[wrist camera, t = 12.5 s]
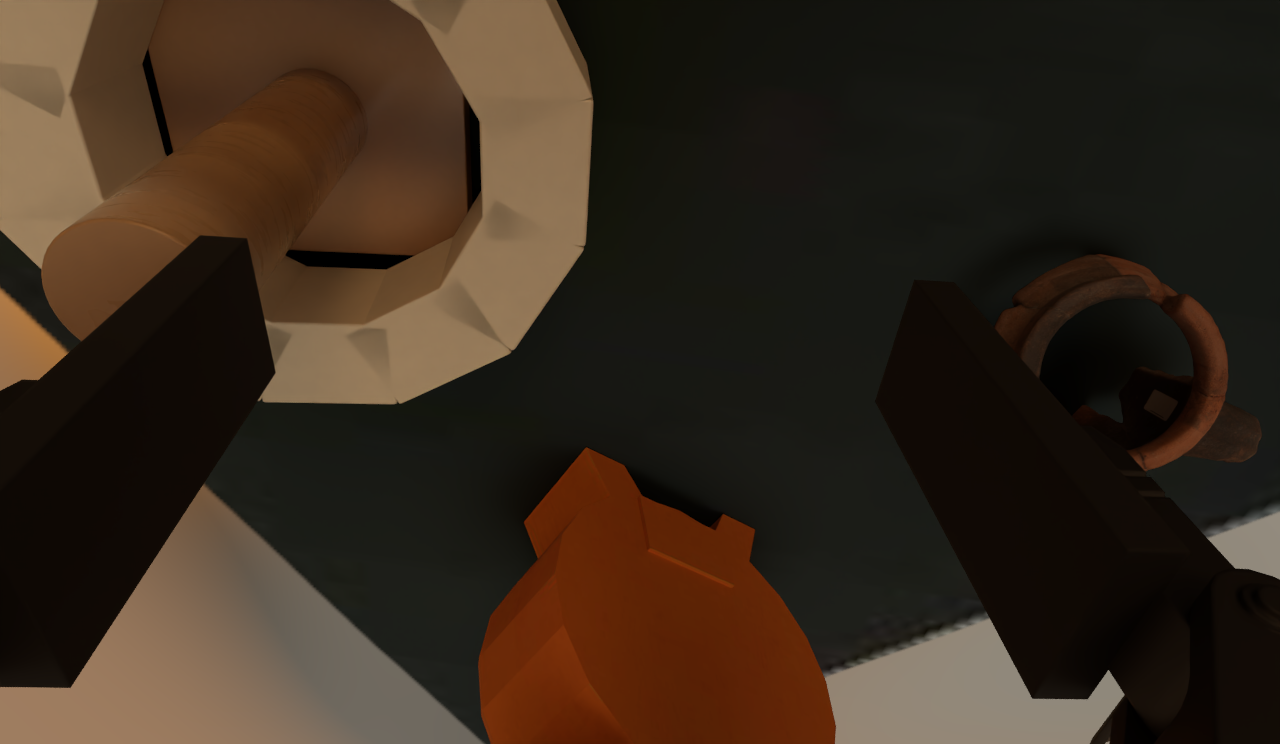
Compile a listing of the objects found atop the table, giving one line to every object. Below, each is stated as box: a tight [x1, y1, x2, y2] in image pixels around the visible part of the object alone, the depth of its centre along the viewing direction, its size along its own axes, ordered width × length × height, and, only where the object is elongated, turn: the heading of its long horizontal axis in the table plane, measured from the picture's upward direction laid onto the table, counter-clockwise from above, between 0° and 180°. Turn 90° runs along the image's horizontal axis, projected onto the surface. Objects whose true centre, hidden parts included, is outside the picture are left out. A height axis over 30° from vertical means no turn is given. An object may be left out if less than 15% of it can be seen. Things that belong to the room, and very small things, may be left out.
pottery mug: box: [994, 254, 1262, 471], centre depth 31 cm, size 12×10×8 cm
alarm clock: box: [478, 447, 836, 744], centre depth 28 cm, size 13×6×20 cm, turn 54°
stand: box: [42, 0, 472, 341], centre depth 19 cm, size 9×9×14 cm
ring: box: [0, 0, 593, 404], centre depth 22 cm, size 16×16×4 cm
